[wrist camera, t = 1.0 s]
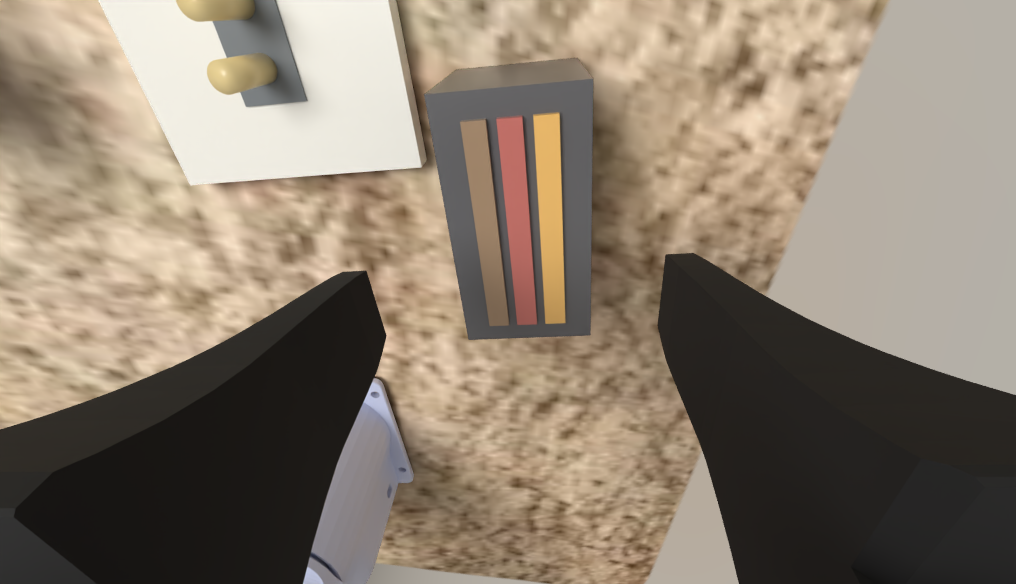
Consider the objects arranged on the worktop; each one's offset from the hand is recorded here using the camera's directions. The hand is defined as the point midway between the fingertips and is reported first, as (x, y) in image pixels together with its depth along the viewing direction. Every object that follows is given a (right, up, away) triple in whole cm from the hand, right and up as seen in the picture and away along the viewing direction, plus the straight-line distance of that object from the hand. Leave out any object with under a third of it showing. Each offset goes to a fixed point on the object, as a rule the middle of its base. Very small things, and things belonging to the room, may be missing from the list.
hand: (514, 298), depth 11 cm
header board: (-9, +10, +5) cm, 15 cm away
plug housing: (+1, +5, +8) cm, 9 cm away
